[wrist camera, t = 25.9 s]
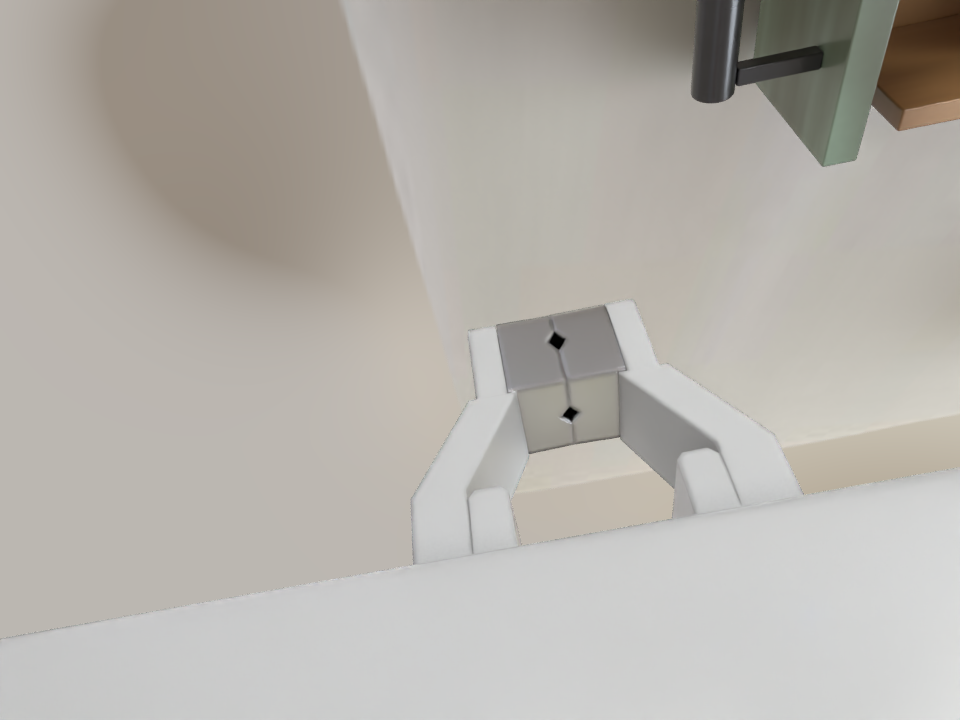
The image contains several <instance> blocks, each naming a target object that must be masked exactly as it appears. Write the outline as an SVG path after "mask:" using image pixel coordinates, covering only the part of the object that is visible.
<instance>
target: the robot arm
mask: <svg viewBox="0 0 960 720" xmlns="http://www.w3.org/2000/svg"><path fill="white" fill-rule="evenodd" d="M496 328H497V330H496ZM468 342H469V349H470V357H471V364H472V372H473V379H474V387H475V394H476V399H475V400H471V401H468V403H467V404H466V406H465V408H464V409H463V411H462V413H461V414H460V416H459V418H458V420H457V421H456V423H455V425H454V427H453V428H452V430H451V432H450V433H449V435H448V437H447V438H446V440H445V442H444V443H443V445H442V447H441V449H440V451H439V452H438V454H437V455H436V457H435V459H434V461H433V462H432V464H431V466H430V467H429V469H428V471H427V472H426V474H425V476H424V478H423V479H422V481H421V483H420V485H419V486H418V488H417V490H416V492H415V493H414V495H413V497H412V498H411V521H412V548H413V565H410V566H404V567H399V568H393V569H387V570H382V571H376V572H371V573H365V574H359V575H355V576H348V577H343V578H337V579H332V580H326V581H320V582H315V583H309V584H303V585H298V586H293V587H287V588H281V589H275V590H270V591H264V592H258V593H254V594H247V595H242V596H236V597H231V598H226V599H219V600H214V601H208V602H202V603H197V604H192V605H186V606H181V607H174V608H169V609H163V610H157V611H152V612H146V613H141V614H135V615H130V616H124V617H118V618H113V619H107V620H102V621H96V622H90V623H85V624H79V625H74V626H68V627H62V628H57V629H51V630H45V631H40V632H34V633H29V634H23V635H18V636H12V637H6V638H1V639H0V720H960V467H959V468H953V469H947V470H941V471H935V472H930V473H924V474H919V475H913V476H907V477H902V478H896V479H891V480H885V481H880V482H875V483H868V484H863V485H857V486H851V487H846V488H840V489H835V490H830V491H823V492H818V493H812V494H807V495H804V493H803V491H802V489H801V487H800V485H799V483H798V481H797V479H796V477H795V475H794V473H793V471H792V469H791V467H790V465H789V463H788V461H787V459H786V457H785V454H784V452H783V450H782V448H781V446H780V444H779V442H778V440H777V438H776V436H775V434H774V433H772V432H771V431H769V430H768V429H766V428H765V427H763V426H762V425H760V424H759V423H757V422H756V421H754V420H753V419H751V418H750V417H748V416H747V415H745V414H744V413H742V412H741V411H739V410H738V409H736V408H735V407H733V406H732V405H730V404H729V403H727V402H725V401H724V400H722V399H721V398H719V397H718V396H716V395H715V394H713V393H712V392H710V391H709V390H707V389H706V388H704V387H703V386H701V385H700V384H698V383H697V382H695V381H694V380H692V379H691V378H689V377H688V376H686V375H685V374H683V373H682V372H680V371H679V370H677V369H676V368H674V367H673V366H671V365H669V364H668V363H666V364H660V365H659V362H658V360H657V357H656V355H655V352H654V349H653V347H652V344H651V342H650V339H649V336H648V334H647V331H646V329H645V326H644V324H643V321H642V318H641V316H640V313H639V311H638V308H637V305H636V303H635V301H634V300H633V299H626V300H622V301H617V302H612V303H607V304H604V305H597V306H592V307H587V308H583V309H578V310H573V311H568V312H563V313H558V314H553V315H549V316H545V317H539V318H533V319H527V320H521V321H516V322H510V323H504V324H498V325H496V326H490V327H484V328H478V329H472V330H468ZM618 437H620V439H621V440H622V441H623V442H624V443H625V444H626V445H627V446H628V447H629V448H630V449H632V450H633V451H634V452H635V453H636V454H637V455H638V456H639V457H640V458H641V459H642V460H643V461H645V462H646V463H647V464H648V465H649V466H650V467H651V468H652V469H653V470H654V471H655V472H657V473H658V474H659V475H660V476H661V477H662V478H663V479H664V480H665V481H666V482H667V483H669V485H671V486H672V487H673V488H674V489H675V490H674V502H673V513H672V519H668V520H662V521H656V522H651V523H645V524H640V525H634V526H628V527H623V528H617V529H612V530H606V531H601V532H595V533H589V534H584V535H578V536H572V537H567V538H561V539H555V540H550V541H545V542H539V543H533V544H527V545H522V543H521V539H520V535H519V531H518V527H517V523H516V519H515V515H514V511H513V508H512V503H511V500H512V497H513V495H514V493H515V490H516V488H517V485H518V483H519V481H520V478H521V476H522V473H523V471H524V468H525V466H526V464H527V461H528V459H529V454H531V453H536V452H541V451H546V450H550V449H555V448H560V447H564V446H569V445H574V444H580V443H587V442H593V441H599V440H605V439H612V438H618Z"/></svg>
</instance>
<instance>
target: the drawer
mask: <svg viewBox="0 0 960 720" xmlns="http://www.w3.org/2000/svg"><path fill="white" fill-rule="evenodd" d="M744 2H745V0H697V5H696V20H695V36H694V51H693V66H692V82H691V95H692V97H693V98H694V99H695V100H697V101H699V102H703V103H719V102H723V101H725V100H727V99H729V98H730V97H732V95H733V94H734V90H735V84H736V85H737V86H742V85H747V84H751V83H756V85H757V86H758V87H759V88H760V90H761V91H762V92H763V93H764V95H765V96H766V97H767V98H768V100H769V101H770V102H771V103H772V105H773V106H774V107H775V108H776V110H777V111H778V112H779V113H780V115H781V116H782V117H783V118H784V120H785V121H786V122H787V123H788V125H789V126H790V127H791V128H792V130H793V131H794V132H795V133H796V135H797V136H798V137H799V138H800V140H801V141H802V142H803V143H804V145H805V146H806V147H807V148H808V150H809V151H810V152H811V153H812V155H813V156H814V157H815V158H816V160H817V161H818V162H819V163H820V165H821V166H822V167H825V166H830V165H835V164H840V163H845V162H850V161H855V160H856V159H857V155H858V151H859V148H860V144H861V140H862V137H863V133H864V129H865V126H866V122H867V118H868V115H869V111H870V107H871V105H872V106H873V107H874V108H875V109H876V110H877V111H878V112H879V113H880V114H881V115H882V116H883V117H884V118H885V119H886V120H887V121H888V122H889V123H890V124H891V125H892V126H893V127H894V128H895V129H896V130H897V131H902V130H907V129H911V128H916V127H921V126H926V125H931V124H936V123H941V122H946V121H951V120H956V119H960V0H761V4H760V12H759V19H758V27H757V35H756V42H755V50H754V58H753V59H749V60H744V61H739V62H738V55H739V46H740V37H741V29H742V20H743V11H744Z"/></svg>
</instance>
